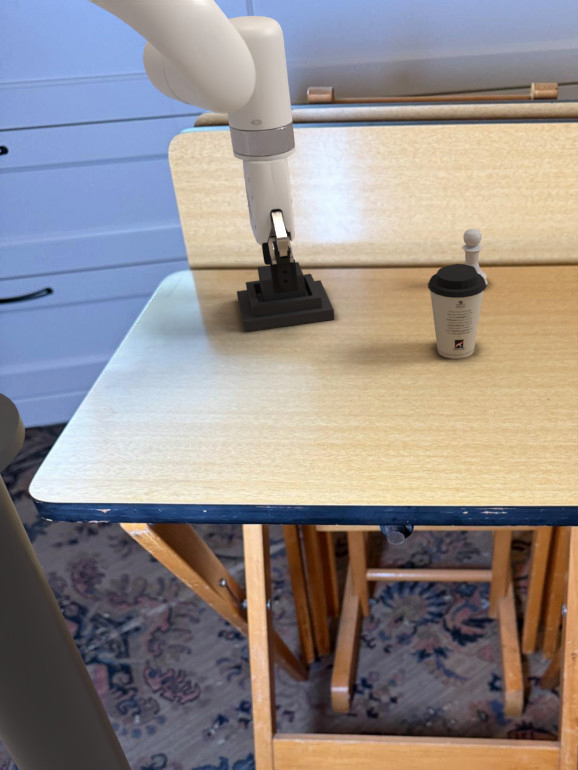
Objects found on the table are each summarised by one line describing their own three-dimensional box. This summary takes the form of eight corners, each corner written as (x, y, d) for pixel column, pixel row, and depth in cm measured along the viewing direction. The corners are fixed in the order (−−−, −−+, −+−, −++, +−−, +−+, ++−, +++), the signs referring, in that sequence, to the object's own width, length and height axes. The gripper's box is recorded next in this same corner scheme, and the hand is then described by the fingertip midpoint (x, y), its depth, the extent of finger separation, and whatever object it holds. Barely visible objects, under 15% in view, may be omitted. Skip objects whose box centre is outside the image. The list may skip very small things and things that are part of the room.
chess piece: (477, 275, 117) (479, 220, 112) (493, 287, 114) (496, 231, 108) (448, 281, 115) (449, 226, 110) (464, 294, 112) (466, 237, 107)
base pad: (245, 332, 105) (242, 311, 103) (238, 301, 113) (234, 280, 111) (334, 319, 107) (332, 298, 105) (321, 289, 115) (319, 269, 113)
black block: (265, 309, 107) (261, 280, 104) (261, 295, 110) (257, 267, 107) (306, 303, 108) (303, 274, 105) (301, 289, 111) (298, 261, 108)
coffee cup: (470, 368, 96) (472, 289, 90) (418, 356, 99) (417, 279, 92) (491, 343, 101) (495, 266, 94) (442, 332, 104) (442, 257, 97)
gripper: (225, 124, 101) (246, 256, 113) (239, 163, 89) (260, 307, 100) (283, 118, 103) (298, 249, 114) (305, 156, 90) (319, 299, 101)
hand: (280, 276), depth 107 cm, fingers open, 9 cm apart
